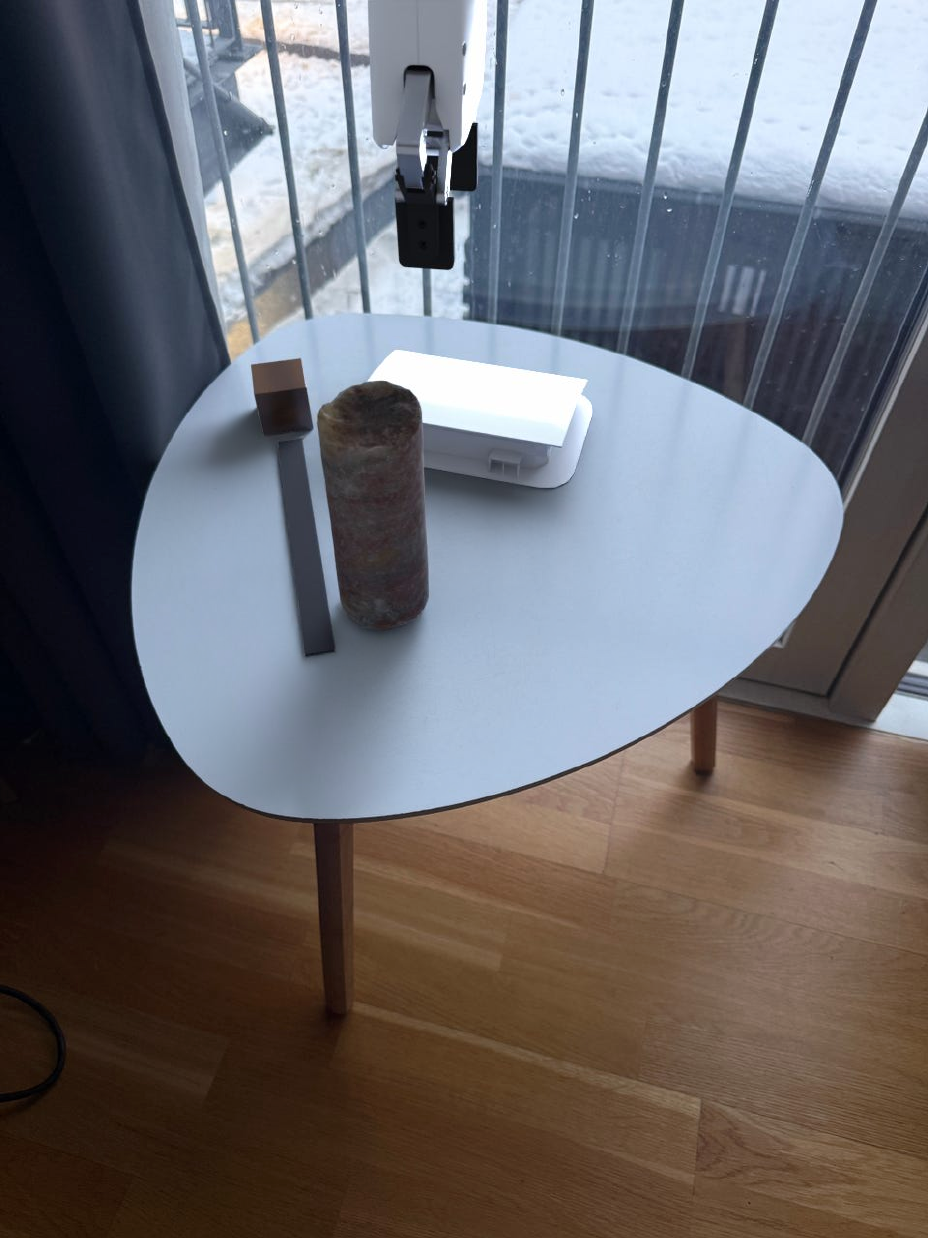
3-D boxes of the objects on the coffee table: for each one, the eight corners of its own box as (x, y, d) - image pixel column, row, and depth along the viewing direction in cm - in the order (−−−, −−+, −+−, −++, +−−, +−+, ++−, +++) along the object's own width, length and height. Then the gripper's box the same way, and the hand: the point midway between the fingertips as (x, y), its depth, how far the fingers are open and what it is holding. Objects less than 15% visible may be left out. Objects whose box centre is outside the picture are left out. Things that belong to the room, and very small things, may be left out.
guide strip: (305, 656, 72) (304, 654, 72) (277, 443, 89) (277, 441, 89) (335, 651, 73) (334, 649, 72) (302, 440, 90) (301, 437, 89)
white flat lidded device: (568, 493, 84) (571, 460, 81) (336, 451, 88) (331, 418, 85) (597, 395, 94) (602, 363, 91) (386, 361, 98) (384, 329, 95)
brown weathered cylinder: (448, 614, 75) (442, 417, 60) (372, 654, 72) (345, 459, 57) (400, 559, 79) (382, 362, 64) (326, 595, 76) (289, 398, 61)
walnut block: (263, 436, 90) (254, 394, 86) (260, 405, 93) (250, 364, 89) (313, 429, 91) (306, 387, 87) (308, 399, 94) (301, 357, 90)
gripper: (388, -172, 48) (406, 159, 61) (306, -84, 37) (349, 296, 51) (528, -169, 48) (516, 166, 61) (487, -79, 37) (483, 306, 50)
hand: (440, 224), depth 56 cm, fingers open, 9 cm apart
